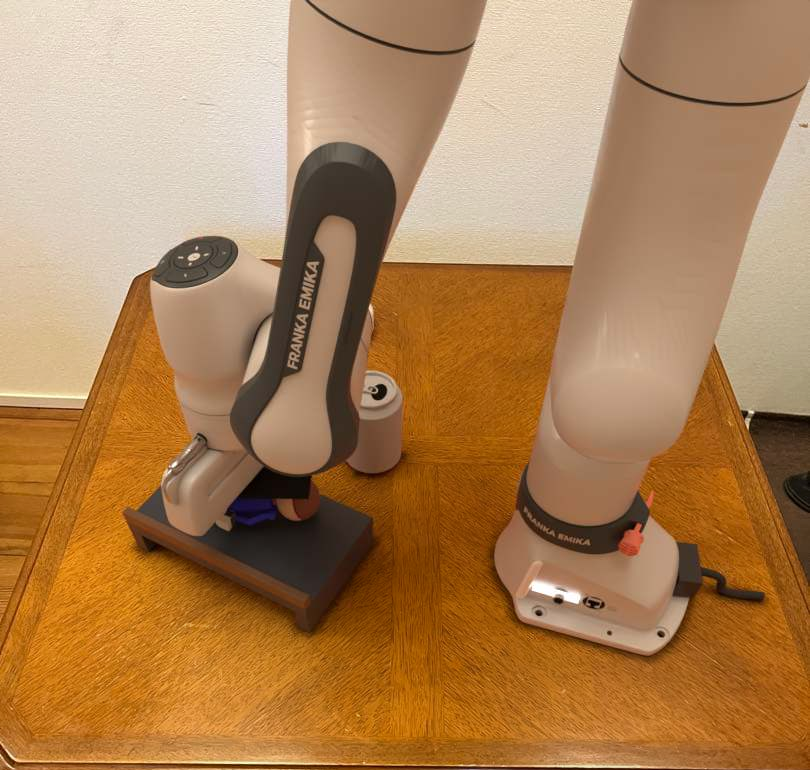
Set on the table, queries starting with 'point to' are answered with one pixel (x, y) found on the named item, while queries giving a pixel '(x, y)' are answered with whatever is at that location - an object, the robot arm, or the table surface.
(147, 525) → the shelf
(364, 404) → the can
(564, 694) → the table surface
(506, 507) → the table surface
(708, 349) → the robot arm
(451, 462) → the table surface
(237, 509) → the figurine character
